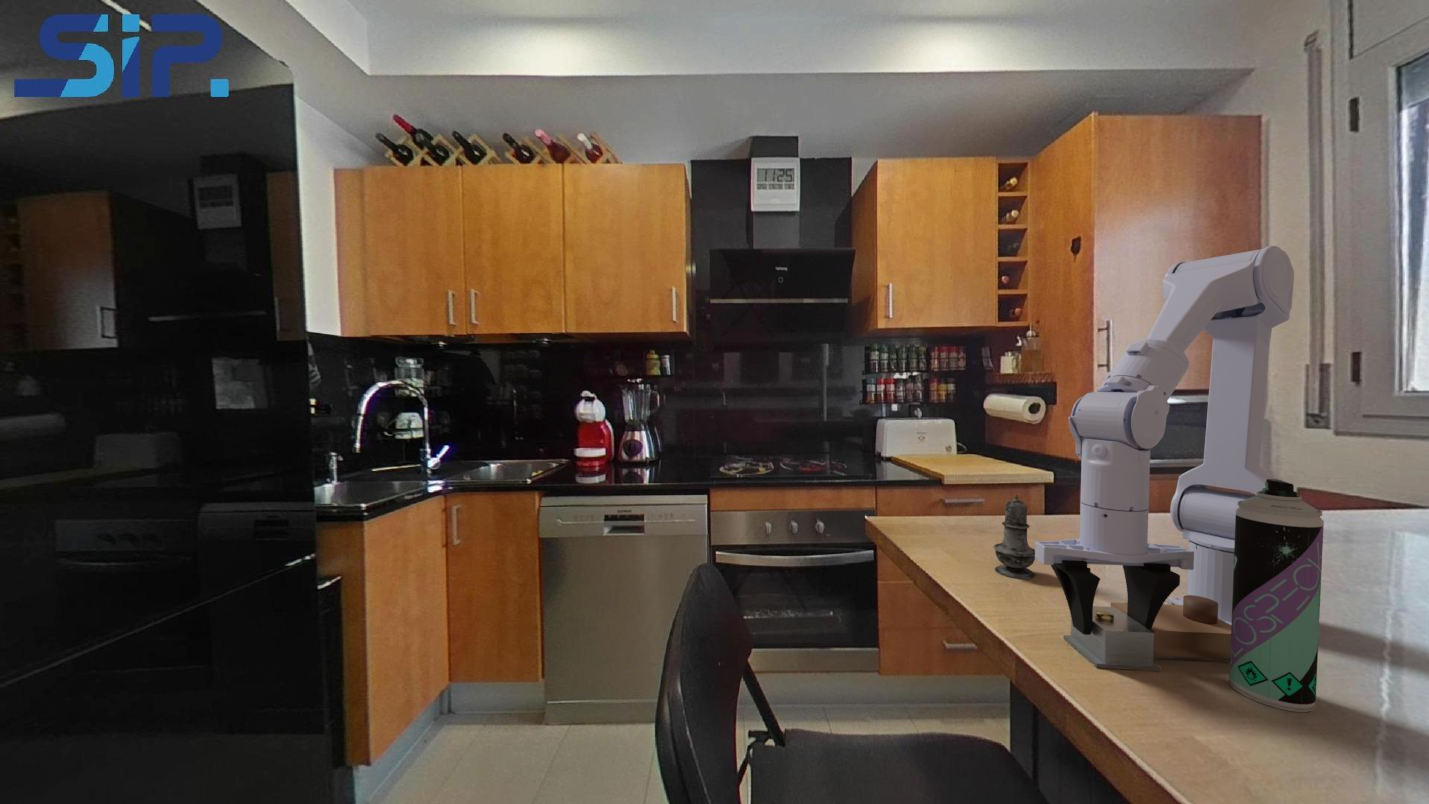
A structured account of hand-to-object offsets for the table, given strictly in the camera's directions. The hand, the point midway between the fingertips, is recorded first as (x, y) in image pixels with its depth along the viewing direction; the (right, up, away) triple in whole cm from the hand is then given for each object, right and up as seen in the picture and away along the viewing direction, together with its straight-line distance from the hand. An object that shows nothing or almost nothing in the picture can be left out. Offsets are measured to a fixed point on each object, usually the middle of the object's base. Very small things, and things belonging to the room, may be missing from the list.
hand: (1109, 631), depth 56 cm
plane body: (+9, -2, +2) cm, 9 cm away
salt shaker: (+4, -2, +24) cm, 24 cm away
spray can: (+10, -3, -7) cm, 12 cm away
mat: (0, -2, 0) cm, 2 cm away
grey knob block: (0, -2, 0) cm, 2 cm away
